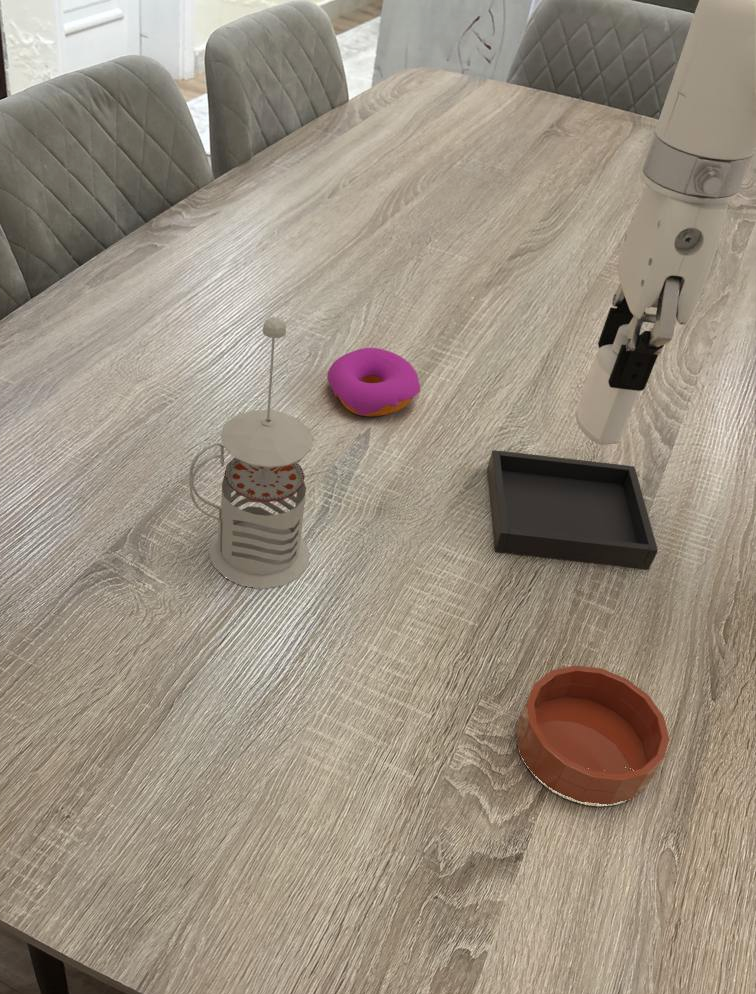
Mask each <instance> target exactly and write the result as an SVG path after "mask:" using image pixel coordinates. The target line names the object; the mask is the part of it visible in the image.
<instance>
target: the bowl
mask: <svg viewBox="0 0 756 994" xmlns="http://www.w3.org/2000/svg"><path fill="white" fill-rule="evenodd" d="M516 730H517V731H516V732H515V739H516V738H517V743H516V745H517V744H518V748H519V750H520V754H521V756H522V758H523V759H524V762H525V763H526V765H527V766H528V767H529V769H530V770H531V771H532V772H533V774H535V776H537V777H538V778H539V779H540V780H541V781H542V782H543V783H545V784H546V785H547V786H548V787H550V788H552V789H553V790H555V791H557V792H559V793H561V794H563V795H565V796H568V797H571V798H573V799H575V800H578V801H581V802H589V803H590V802H591V803H599V804H607V805H608V804H613V803H617V802H620V801H625V800H629V799H632V798H633V797H635V796H636V795H637V794H638V793H639V792H640V791H641V790H642V789H643V788H644V789H645V788H646V787H647V786H648V785H649V784H650V782H651V781H652V779H653V778H654V776H655V774H656V773H657V771H658V770H659V768H660V767H661V765H662V763H663V761H664V760H665V756H666V754H667V750H668V745H669V742H670V736H669V732H668V728H667V724H666V720H665V717H664V715H663V713H662V712H661V710H660V709H659V708H658V706H657V705H656V704H655V702H654V701H653V698H652V697H650V695H649V694H648V693H646V691H644V690H642V689H641V688H640V687H639V686H637V685H636V684H634V683H633V682H632V681H631V680H629V679H628V678H626V677H625V676H621V675H619V674H617V673H614V672H611V671H609V670H607V669H605V668H602V667H592V666H585V665H569V666H566V667H561V668H556V669H552V670H550V671H549V672H548V673H546V674H545V675H544V676H542V677H541V678H540V679H538V680H537V681H535V682H534V683H533V686H532V688H531V691H530V692H529V696H528V697H527V700H526V703H525V705H524V707H523V710H522V712H521V714H520V716H519V719H518V721H517V724H516ZM518 748H517V749H518ZM520 754H519V755H520ZM625 767H626V768H625ZM588 768H589V769H588ZM630 768H631V769H630ZM632 769H633V770H634V771H633V770H632ZM604 770H605V771H604ZM644 789H643V790H644ZM643 790H642V791H643ZM642 791H641V792H642ZM641 792H640V793H641ZM640 793H639V794H640ZM637 796H638V795H637ZM637 796H636V797H637ZM636 797H635V798H636ZM633 799H634V798H633ZM633 799H632V800H633Z"/></svg>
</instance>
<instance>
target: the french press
mask: <svg viewBox="0 0 756 994" xmlns="http://www.w3.org/2000/svg"><path fill="white" fill-rule="evenodd" d="M262 334H263V335H264V336H265V337H267V338H271V350H270V351H271V352H270V367H269V368H270V369H269V381H268V382H269V383H268V395H267V396H268V397H267V398H268V400H267V409H256V410H249V411H246V412H243V413H241V414H237V415H235V416H232V417H231V418H230V419H229V420H228V421H226V422H225V423H224V424H223V426H222V428H221V432H220V434H219V435H220V439H221V442H222V443H219V442H216V443H213V444H211V445H208V446H206V447H204V448H203V449H202V450H200V451H199V452H198V453H197V454H196V456H195V457H194V459H193V460H192V461H191V464H190V467H189V483H188V484H189V492H190V493H189V494H190V495H189V496H190V499H191V501H192V503H193V505H194V507H195V508H196V509H197V510H198V511H200V512H201V513H202V514H203V515H204V516H207V517H209V518H210V519H214V520H216V521H217V522H218V533H217V534H216V535H215V536H214V537H213V538H212V539H211V542H210V546H209V550H208V555H209V554H210V556H209V558H210V557H211V559H210V562H211V561H212V562H211V565H212V564H213V566H214V567H215V568H216V569H217V570H218V571H219V572H220V573H221V574H222V575H223V576H224V577H227V579H229V580H228V581H230V580H231V581H230V582H232V581H234V582H235V583H234V582H233V583H234V584H236V585H238V584H239V585H238V586H240V585H241V586H240V587H245V586H247V587H245V588H251V587H253V588H252V589H258V590H259V589H260V590H264V589H272V588H273V589H274V588H279V586H280V587H283V586H285V585H287V584H290V583H291V582H293V581H296V580H298V579H299V578H300V576H301V575H302V574H303V573H304V572H305V570H306V569H307V568H308V566H309V560H310V555H311V553H310V550H309V548H308V545H307V543H306V540H305V539H304V538H303V537H302V532H303V531H302V530H303V521H304V512H305V503H306V493H307V487H306V486H307V485H306V483H305V477H306V476H305V473H304V471H303V468H302V466H301V465H300V464H299V463H300V462H301V461H302V460H303V459H304V458H305V457H306V456H307V455H308V454H309V453H310V452H311V451H312V448H313V443H314V435H313V433H312V431H311V428H310V427H308V425H306V424H305V423H304V422H303V421H301V420H300V419H299V418H297V417H295V416H293V415H290V414H287V413H284V412H282V411H279V410H275V409H271V402H272V401H271V400H272V386H273V373H274V370H273V369H274V358H275V357H274V355H275V342H276V341H275V340H276V339H281V338H283V337H285V336H286V334H287V323H285V322H284V321H283V320H282V319H280V318H279V317H278V316H270V317H268V318H267V319H265V321H264V323H263V326H262ZM216 446H219V448H220V454H214V455H211V456H209V457H207V458H204V459H203V460H202V462H200V463H199V464H198V465H197V466H196V467H195V465H196V463H197V462H198V461H199V458H200V456H202V455H203V454H204V453H205V452H207V451H208V450H210V449H212V448H214V447H216ZM224 449H225V451H226V452H227V453H229V454H230V455H231V456H232V457H233V458H232V459H231V460H230V461H229V462H228V463H227V464H226V466H225V457H224ZM217 458H218V459H220V467H224V466H225V467H226V468H225V470H224V474H223V478H222V482H221V501H220V502H221V503H220V506H221V507H220V506H218V505H216V504H214V503H212V502H210V501H208V500H206V499H205V498H203V497H202V496H201V495H200V494H199V492H198V491H197V489H196V487H195V485H194V479H195V477H196V474H197V472H198V471H199V469H200V468H202V467H203V466H204V465H205V464H206V463H207V462H208V461H211V460H214V459H217ZM194 468H195V469H194ZM233 493H235V494H233ZM232 494H233V495H232ZM295 494H296V496H295ZM195 496H196V498H198V499H199V500H200V501H201V502H203V504H206V505H208V506H211V507H213V508H215V509H217V511H218V517H217V516H216V515H213V514H211V513H208V512H206V511H205V510H204V509H202V507H200V506H199V504H198V502H197V501H196V499H195ZM239 497H243V498H242V499H240V500H238V501H237V502H235V501H236V500H237V499H238V498H239ZM286 499H289V500H290V501H292V502H294V503H295V506H293V505H292V504H291V503H289V502H287V501H286ZM233 502H235V504H232V503H233ZM272 502H276V503H278V504H280V505H281V506H283V507H284V508H286V509H288V510H287V511H285V510H283V509H282V508H281V507H279V506H277V505H276V504H274V503H272ZM248 503H260V504H262V505H264V506H266V507H268V508H270V509H271V510H273V511H274V512H275V513H276V514H274V513H272V512H270V511H268V510H266V509H264V508H263V507H261V506H251V505H249V506H248V505H247V506H246V507H244V508H242V509H240V508H239V507H241V506H243V505H245V504H248ZM213 566H212V567H213ZM214 567H213V568H214ZM215 568H214V569H215ZM216 569H215V570H216ZM217 570H216V571H217ZM218 571H217V572H218ZM219 572H218V573H219ZM220 573H219V574H220ZM221 574H220V575H221ZM222 575H221V576H222ZM223 576H222V577H223ZM224 577H223V578H224ZM227 579H226V580H227ZM270 587H272V588H270Z"/></svg>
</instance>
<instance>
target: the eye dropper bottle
mask: <svg viewBox="0 0 756 994" xmlns="http://www.w3.org/2000/svg"><path fill="white" fill-rule="evenodd" d="M632 320H633V318H632ZM632 320H631V322H630V323H629V324H625V325H622V326H620V327H619V329H618V332H617V335H616V338H615V340H614V343H613V344H610V345H604V346H602V347H601V348H598V349H597V352H596V354H595V357H594V358H593V362H592V363H591V366H590V369H589V372H588V375H587V379H586V381H585V384H584V387H583V390H582V392H581V395H580V398H579V401H578V404H577V407H576V410H575V420H576V423H577V426H578V428H579V429H580V431H581V432H582V434H584V435H585V436H586V437H587V438H588V439H589V440H591V441H592V442H593V443H595V444H597V445H599V446H600V445H601V446H606V445H616V444H618V443H619V442H620V440H621V438H622V435H623V433H624V431H625V428H626V425H627V423H628V420H629V418H630V416H631V413H632V412H633V411H632V410H633V407H634V405H635V403H636V401H637V398H638V395H639V393H640V391H636V390H627V389H618V388H611V387H610V386H609V382H608V381H609V378H610V375H611V372H612V370H613V367H614V364H615V361H616V359H617V356H618V353H619V351H620V348H621V345H626V344H627V340H628V336H629V332H630V328H631V324H632ZM644 331H645V329H643V328H642V327H641V330H640V334H642V333H643V332H644ZM640 334H639V335H640Z"/></svg>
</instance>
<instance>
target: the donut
mask: <svg viewBox="0 0 756 994" xmlns="http://www.w3.org/2000/svg"><path fill="white" fill-rule="evenodd" d="M326 377H327V378H326V379H327V382H328V384H329V385H330V387H331V389H332V391H333V394H334V397H335V398H338V399H339V400H340V402H341V403H342V405H343V406H344V407H345V408H346V410H347V411H350V412H351V413H353V414H354V415H358V416H362V417H381V416H385V415H389V414H390V415H391V414H393V413H396V412H399V411H400V410H402V409H404V408H405V407H406V406H408V404H410V402H411V401H412V400H414V398H415V397H416V396H417V395H418V394H419V393H421V386H420V385H421V384H420V379H419V376H418V373H417V371H416V370H415V368H414V366H413V365H412V364H411V363H410V362H409V361H407V360H406V359H405V358H403V357H402V356H401V355H399V354H397V353H395V352H393V351H389V350H387V349H383V348H378V347H363V348H359V349H356V350H353V351H350V352H348V353H345V354H343V355H342V356H340V357H338V358H337V359H336V360H335V361H334V362H332V364H331V365H330V367H329V369H328V371H327V376H326Z"/></svg>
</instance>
